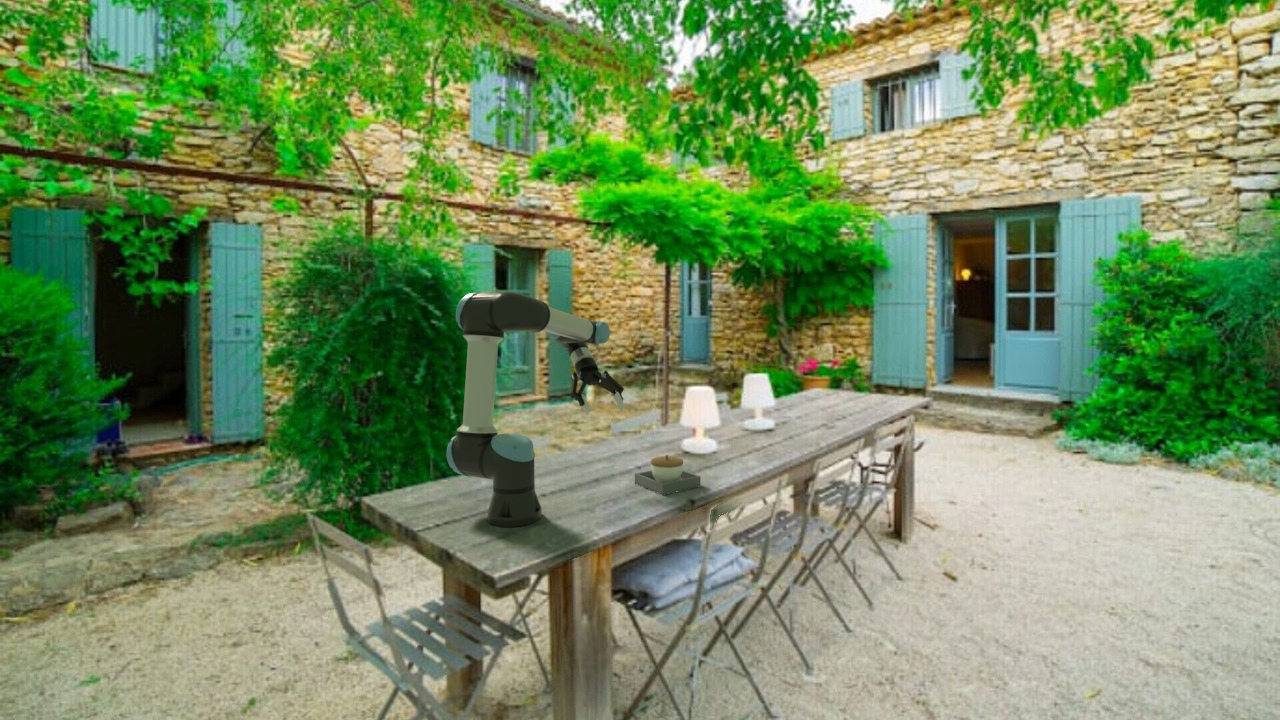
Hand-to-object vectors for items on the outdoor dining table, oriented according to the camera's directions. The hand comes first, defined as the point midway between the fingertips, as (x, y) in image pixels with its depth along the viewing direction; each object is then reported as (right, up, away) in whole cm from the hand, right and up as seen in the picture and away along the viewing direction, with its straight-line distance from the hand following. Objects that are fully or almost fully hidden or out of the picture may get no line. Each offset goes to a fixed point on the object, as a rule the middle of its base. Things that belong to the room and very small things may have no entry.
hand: (606, 410), depth 210 cm
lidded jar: (+20, -24, -3) cm, 32 cm away
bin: (+21, -25, -3) cm, 32 cm away
